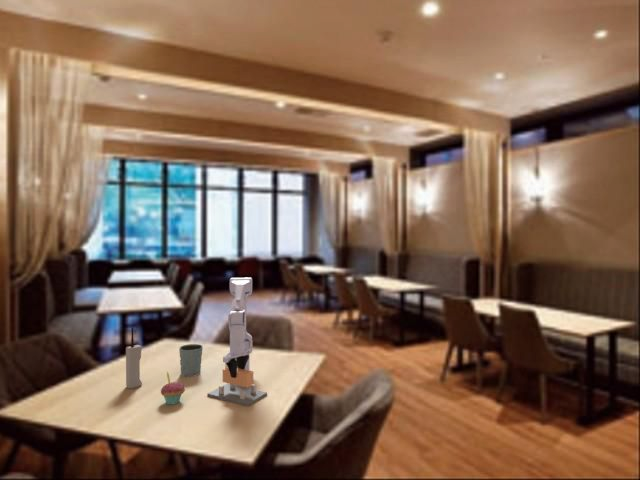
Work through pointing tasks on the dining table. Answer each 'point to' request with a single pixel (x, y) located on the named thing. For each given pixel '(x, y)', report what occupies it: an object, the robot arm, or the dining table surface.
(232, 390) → the grey pegged plate
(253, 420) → the dining table surface
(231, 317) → the robot arm
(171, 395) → the cupcake
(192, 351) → the drinking glass
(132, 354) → the vintage mobile phone
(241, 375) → the long tan brick
